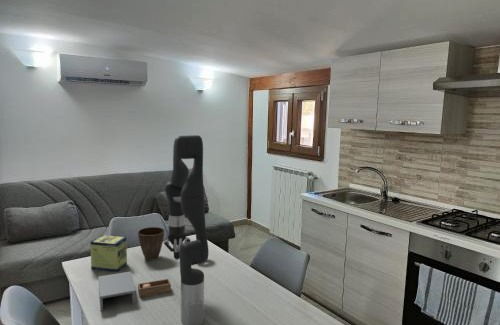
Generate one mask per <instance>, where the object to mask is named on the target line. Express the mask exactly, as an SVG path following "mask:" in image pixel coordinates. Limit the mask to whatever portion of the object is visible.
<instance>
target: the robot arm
mask: <svg viewBox="0 0 500 325" xmlns="http://www.w3.org/2000/svg"><path fill="white" fill-rule="evenodd" d="M172 148H173V150H172V154H173V155H172V173H171V178H170V181H168V182H167V183H165V186H164V192H165V196H166V199H167V202H168V222H167V223H168V235H167V239H166V240H163V243H162V244H163V245H165V247H166V248H167V249H168V250H169V251H170V252H172V253H173V258H174V259H175V260H178V261H179V274H180V322H181V324H182V325H203V324H204V320H205V317H204V316H205V273H204V272H203V271H202V270H201V269H198V268H192V266H195V265H199V264H200V265H201V264H203V263H205V262H207V261H208V260H209V243H208V234H207V226H206V208H205V207H206V206H205V203H206V202H205V200H206V199H205V190H204V174H203V171H204V143H203V138H202V137H201V135H191V134H190V135H178V136H176V137H175V139H174V140H173V147H172ZM191 159H193V165H192V169H191V171H189V168H188V165H187V164H186V163H185V162H184V161H183V160H191ZM174 198H180V200H175V199H174ZM186 218H187V220H188V222H189V223H190V224H191V226H192V228H193V230H194V231H195V232H194V233H195V239H196V240H191V239H190V237H187V235H186ZM170 243H171V245H172V246H171V245H170Z"/></svg>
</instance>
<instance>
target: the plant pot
mask: <svg viewBox="0 0 500 325" xmlns="http://www.w3.org/2000/svg"><path fill="white" fill-rule="evenodd" d="M165 232H166V231H165V229H164V228H162V227H156V226H150V227H144V228H141V229H138V231H137V237H138V242H139V246H140V249H141V252H142V255H143V256H144V259H145V260H147V261H155V260H157V259H158V258H159V256H160V253H161V249H162V246H163V244H164V243H163V241H164V237H165Z"/></svg>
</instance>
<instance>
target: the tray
mask: <svg viewBox="0 0 500 325" xmlns="http://www.w3.org/2000/svg"><path fill="white" fill-rule="evenodd" d="M144 284H150V287H147V288H143V285H144ZM171 286H172V283H171V281H170V279H169V278H165V279H159V280H155V281H154V280H152V281H148V282H142V283H138V284H137V289H138V290H137V293H138V296H139V298H145V297H151V296H155V295H160V294H166V293H170V292H172V288H171Z"/></svg>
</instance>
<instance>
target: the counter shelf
mask: <svg viewBox="0 0 500 325" xmlns="http://www.w3.org/2000/svg"><path fill="white" fill-rule="evenodd" d="M135 285H136V284H135V281H134V278H133V275H132V271H125V272H119V273H113V274H106V275H101V276H98V293H99V294H98V295H99V296H98V297H99V309H100V312H103V311H104V304H103V302H104V300H103V299H107V298H113V297H118V296H124V295H129V294H131V298H132V299H131V300H132V302H131V303H132V305H134V304H137V288H136V286H135Z"/></svg>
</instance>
